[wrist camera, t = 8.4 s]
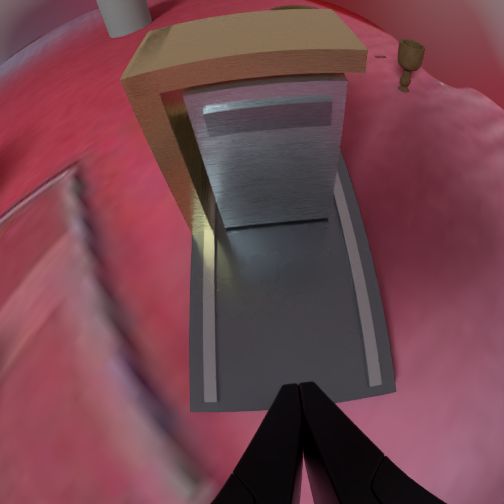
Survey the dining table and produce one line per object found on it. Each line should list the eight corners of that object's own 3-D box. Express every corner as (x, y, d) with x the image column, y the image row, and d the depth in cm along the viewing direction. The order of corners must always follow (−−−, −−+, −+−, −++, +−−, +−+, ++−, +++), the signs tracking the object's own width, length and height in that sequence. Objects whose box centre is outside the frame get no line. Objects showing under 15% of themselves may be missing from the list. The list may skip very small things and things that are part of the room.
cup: (126, 37, 40) (109, -9, 32) (102, 38, 43) (86, -3, 34) (161, 17, 43) (148, -26, 34) (135, 19, 46) (122, -20, 37)
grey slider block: (330, 221, 18) (350, 84, 10) (225, 231, 18) (182, 100, 10) (323, 190, 19) (334, 57, 11) (224, 200, 19) (188, 71, 11)
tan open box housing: (344, 226, 18) (378, 50, 8) (195, 241, 19) (119, 80, 9) (322, 146, 22) (328, -1, 12) (200, 159, 22) (156, 19, 12)
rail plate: (391, 392, 14) (398, 391, 13) (194, 411, 14) (188, 411, 13) (335, 145, 22) (336, 134, 21) (200, 159, 22) (197, 148, 21)
